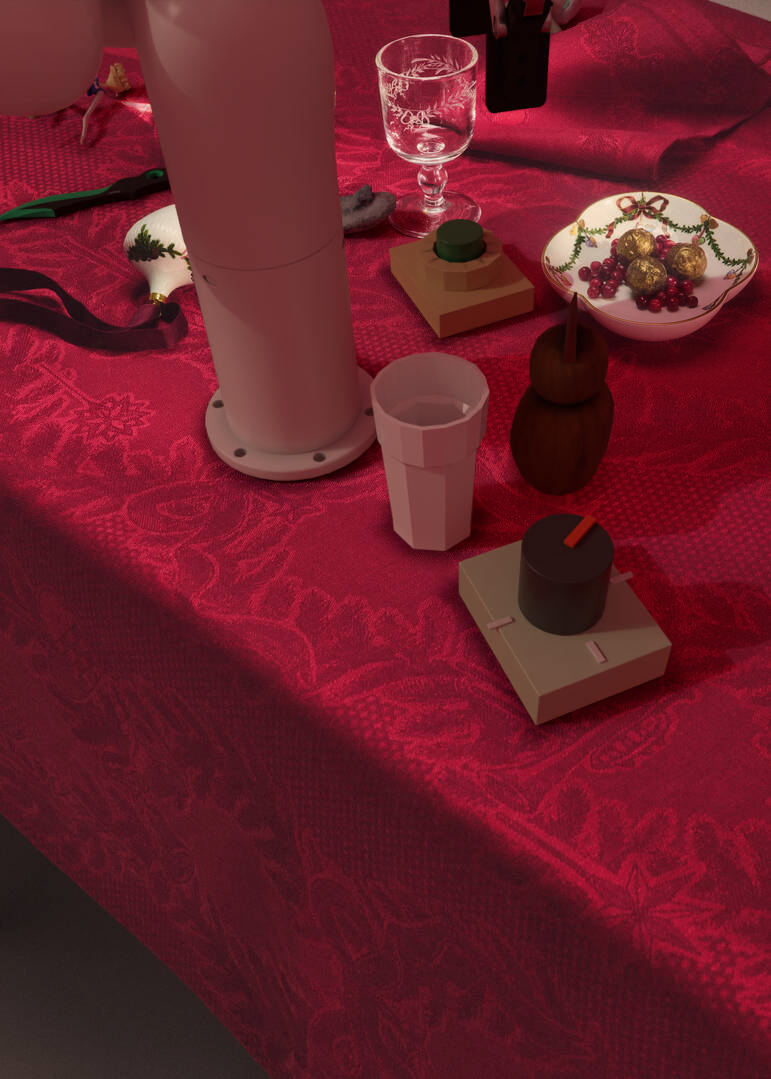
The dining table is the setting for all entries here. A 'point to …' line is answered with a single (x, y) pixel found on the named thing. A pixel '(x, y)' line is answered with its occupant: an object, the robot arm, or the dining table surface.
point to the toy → (561, 13)
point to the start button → (459, 240)
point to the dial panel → (561, 639)
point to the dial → (564, 573)
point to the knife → (92, 196)
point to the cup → (430, 444)
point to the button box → (461, 285)
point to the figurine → (102, 92)
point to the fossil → (366, 209)
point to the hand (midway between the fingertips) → (494, 68)
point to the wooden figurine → (564, 409)
